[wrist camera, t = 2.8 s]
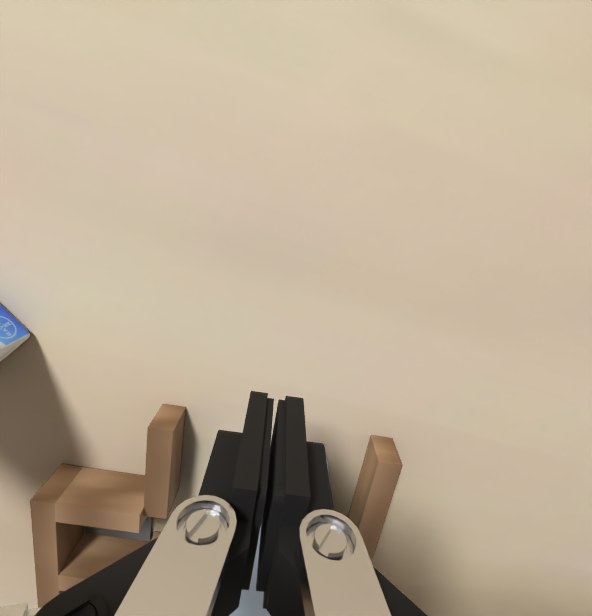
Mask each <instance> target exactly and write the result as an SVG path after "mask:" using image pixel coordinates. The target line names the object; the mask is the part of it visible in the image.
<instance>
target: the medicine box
mask: <svg viewBox="0 0 592 616" xmlns="http://www.w3.org/2000/svg"><path fill="white" fill-rule="evenodd" d="M29 336H30V333H29V332H28V329H27V328H26V327H25V326H24V325H23V324H22V323H21V322H20V321H19V320H18V319H17V318H15V317H14V316H13V315H12V314H11V313H10V312H9V311H8V310H7V309H6V308H5V307H4V306H3V305H1V304H0V362H1V361H2V360H3V359H4V358H6V357H7V356H8V355H9V354H10V353H12V352H13V351H14V350H15V349H16V348H17V347H19V346H20V345H21V344H22V343H23V342H24V341H26V340H27V339H28V338H29Z"/></svg>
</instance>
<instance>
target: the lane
mask: <svg viewBox="0 0 592 616" xmlns="http://www.w3.org/2000/svg"><path fill="white" fill-rule="evenodd" d="M185 410H186V407H181V406H174V405H167V404H163V405H162V406H161V408H160V409H159V411H158V412H157V414H156V416H155V417H154V419H153V420H152V422H151V423H150V425H149V426H148V433H147V453H146V473H145V476H143V475H136V474H129V473H122V472H115V471H108V470H101V469H94V468H87V467H80V466H73V465H66V464H61V465H60V467H59V468H58V469H57V470H56V471H55V472H54V473H53V475H52V476H51V477H50V478H49V479H48V480H47V482H46V483H45V484H44V485H43V486H42V487H41V488H40V490H39V491H38V492H37V493H36V494H35V495H34V496H33V498H32V499H31V500H30V506H31V519H32V532H33V545H34V558H35V572H36V585H37V598H38V608H42V607H43V606H44V605H45V604H46V603H48V602H49V601H50V600H52V599H53V598H55V597H56V596H57V595H59V594H61V593H62V592H64V591H66V590H67V589H69V588H71V587H73V586H74V585H76V584H78V583H80V582H81V581H83V580H85V579H86V578H88V577H90V576H92V575H93V574H95V573H97V572H99V571H100V570H102V569H104V568H105V567H107V566H109V565H111V564H112V563H114V562H116V561H118V560H119V559H121V558H123V557H124V556H126V555H128V554H130V553H131V552H133V551H135V550H137V549H138V548H140V547H142V546H143V545H145V544H147V543H149V542H147V541H150V540H151V541H152V540H154V539H156V538H157V537H159V535H160V534H161V532H154V534H153V537H152V539H151V530H152V517H155V518H163V519H167V516H168V514H169V511H170V509H171V506H172V504H173V502H174V499H175V497H176V494H177V492H178V489H179V479H180V467H181V456H182V444H183V433H184V422H185ZM401 469H402V462H401V460H400V457H399V454H398V452H397V449H396V446H395V444H394V441H393V438H386V437H380V436H373V435H371V436H370V440H369V444H368V447H367V451H366V454H365V458H364V461H363V465H362V468H361V472H360V476H359V479H358V483H357V486H356V490H355V493H354V497H353V501H352V504H351V508H350V511H349V515H348V518H349V519H350V520H351V521H352V522H353V523H354V524H355V525H356V526H357V528H358V530H359V532H360V534H361V536H362V538H363V541H364V544H365V546H366V549H367V552H368V555H369V557H370V560H371V561H372V558H373V555H374V552H375V549H376V546H377V543H378V540H379V537H380V534H381V530H382V527H383V524H384V521H385V518H386V515H387V512H388V509H389V506H390V503H391V499H392V496H393V493H394V490H395V487H396V484H397V481H398V478H399V475H400V472H401ZM84 526H86V533H84ZM87 533H90V534H87ZM94 534H98V535H94ZM102 535H105V536H102ZM109 536H113V537H109ZM117 537H120V538H117ZM124 538H128V539H124ZM132 539H135V540H132ZM139 540H143V541H139Z"/></svg>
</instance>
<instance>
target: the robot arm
mask: <svg viewBox="0 0 592 616" xmlns="http://www.w3.org/2000/svg"><path fill="white" fill-rule="evenodd" d="M267 396H268V393H262V392H255V391H251V393H250V398H249V404H248V409H247V414H246V419H245V424H244V429H243V433H239V432H231V431H224V430H219V431H218V433H217V437H216V440H215V443H214V446H213V450H212V453H211V456H210V460H209V463H208V466H207V470H206V473H205V476H204V479H203V483H202V486H201V489H200V493H199V496H195V497H192V498H190V499H187V500H185V501H184V502H182V503H181V504H180V505H178V506H177V508H176V509H175V510H174V511H173V513H172V514H171V516H170V518H169V519H168V521H167V523H166V525H165V527H164V528H163V530H162V532H161V534H160V535H159V537H157V538H156V539H154V540H152V541H150V542H149V543H147V544H145V545H143V546H142V547H140V548H138V549H137V550H135V551H133V552H131V553H130V554H128V555H126V556H124V557H123V558H121V559H119V560H118V561H116V562H114V563H112V564H111V565H109V566H107V567H105V568H104V569H102V570H100V571H99V572H97V573H95V574H93V575H92V576H90V577H88V578H86V579H85V580H83V581H81V582H80V583H78V584H76V585H74V586H73V587H71V588H69V589H67V590H66V591H64V592H62V593H61V594H59V595H57V596H56V597H55V598H53V599H52V600H50V601H49V602H48V603H46V604H45V605H44V606H43V607H42V608H36V609H29V610H28V603H25V604H18V605H11V606H3V607H0V616H229V615H230V614H232V613H233V612H234V611H235V610H236V609H237V608H238V607H239V603H240V597H241V591H242V590H249V588H250V582H251V577H252V571H253V566H254V560H255V555H256V549H257V544H258V538H259V533H260V527H261V533H260V545H259V557H258V569H257V581H256V591H261V592H264V596H263V609H267V611H268V613H269V614H270V615H271V616H427V615H426V614H425V613H424V612H422V611H421V610H420V609H419V608H418V607H417V606H416V605H415V604H414V603H413V602H411V601H410V600H409V599H408V598H407V597H406V596H405V595H404V594H403V593H401V592H400V591H399V590H398V589H397V588H396V587H395V586H394V585H393V584H392V583H390V582H389V581H388V580H387V579H386V578H385V577H384V576H383V575H382V574H381V573H379V572H378V571H377V570H376V569H375V568H374V567H373V565H372V563H371V560H370V557H369V555H368V552H367V549H366V546H365V544H364V541H363V538H362V536H361V534H360V532H359V530H358V528H357V526H356V525H355V524H354V523H353V522H352V521H351V520H350V519H349V518H347V517H346V516H344V515H343V514H341V513H338V512H336V511H334V509H333V502H332V495H331V488H330V481H329V474H328V467H327V460H326V454H325V447H324V444H322V443H314V442H307V441H306V429H305V415H304V402H303V398H297V397H290V396H286V398H285V400H279V402H278V407H277V412H276V418H275V424H274V429H273V435H272V441H271V430H272V416H273V403H274V399H271V398H267ZM270 443H271V446H270Z"/></svg>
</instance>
